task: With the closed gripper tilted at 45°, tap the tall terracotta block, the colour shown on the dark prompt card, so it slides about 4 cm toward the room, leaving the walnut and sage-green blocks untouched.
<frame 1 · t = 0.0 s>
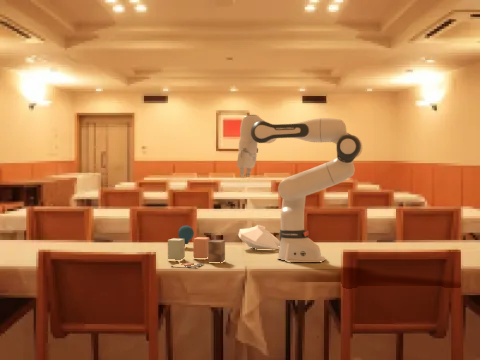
hand: (245, 177, 263), 39 cm above the table, tool pointing down, fingers open, 8 cm apart
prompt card: (187, 265, 242), on the table
light bulb: (186, 248, 294), on the table
paper: (260, 249, 289), on the table
sage block: (176, 260, 256), on the table
terracotta block: (201, 259, 260), on the table
walnut block: (216, 262, 250), on the table
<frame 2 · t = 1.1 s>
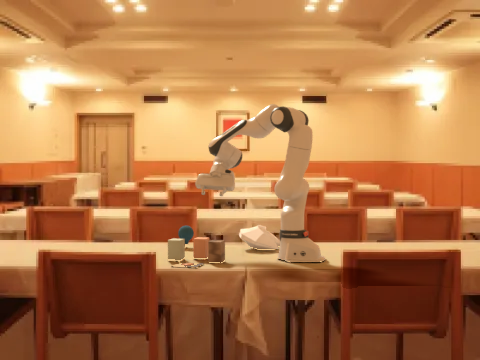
hand: (211, 194, 272), 30 cm above the table, tool tilted 45°, fingers open, 8 cm apart
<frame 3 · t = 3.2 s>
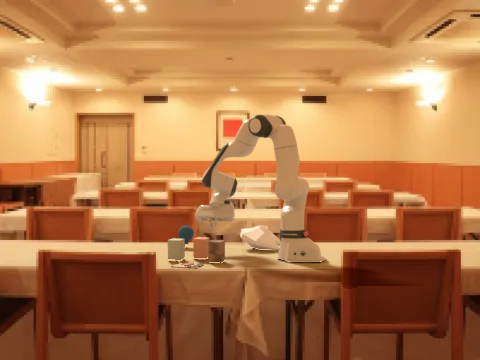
hand: (211, 226, 273), 14 cm above the table, tool tilted 45°, fingers closed
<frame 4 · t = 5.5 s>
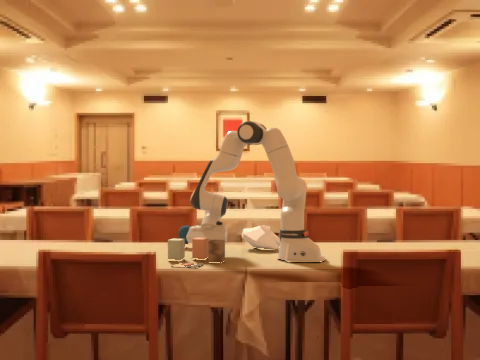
hand: (203, 249, 262), 4 cm above the table, tool tilted 45°, fingers closed, pressing on terracotta block
terracotta block: (200, 259, 258), on the table, touching gripper
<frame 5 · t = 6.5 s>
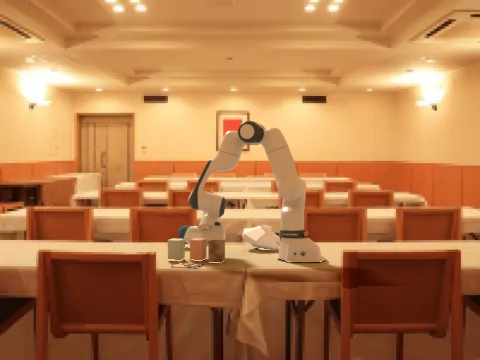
hand: (201, 249, 259), 4 cm above the table, tool tilted 45°, fingers closed, pressing on terracotta block
terracotta block: (198, 260, 256), on the table, touching gripper
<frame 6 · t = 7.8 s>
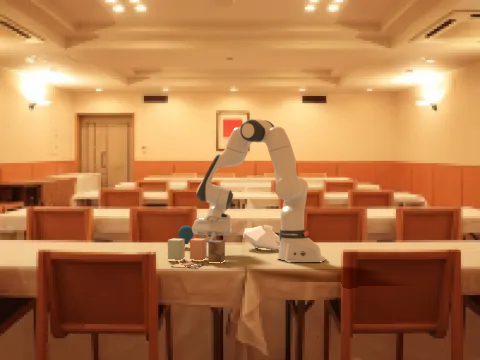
hand: (208, 240, 269), 7 cm above the table, tool tilted 45°, fingers closed
terracotta block: (198, 260, 256), on the table
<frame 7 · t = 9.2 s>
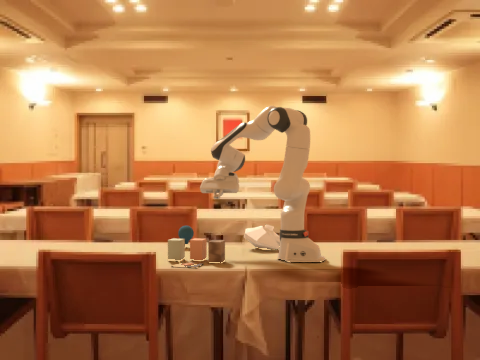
hand: (216, 197, 275), 28 cm above the table, tool tilted 45°, fingers closed
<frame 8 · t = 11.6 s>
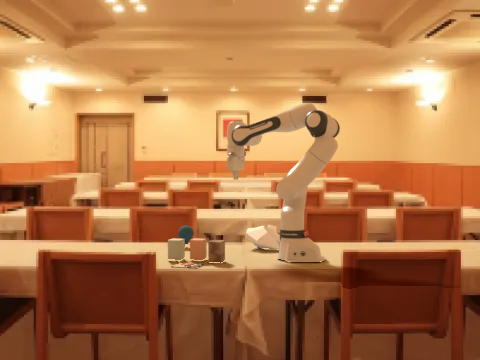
hand: (235, 179, 279), 37 cm above the table, tool pointing down, fingers closed
at the end: terracotta block moved 4.1 cm from its start; walnut block moved 0.1 cm from its start; sage block moved 0.1 cm from its start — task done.
